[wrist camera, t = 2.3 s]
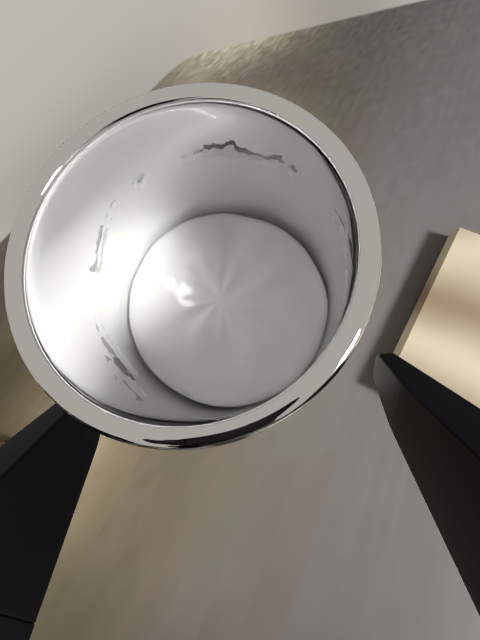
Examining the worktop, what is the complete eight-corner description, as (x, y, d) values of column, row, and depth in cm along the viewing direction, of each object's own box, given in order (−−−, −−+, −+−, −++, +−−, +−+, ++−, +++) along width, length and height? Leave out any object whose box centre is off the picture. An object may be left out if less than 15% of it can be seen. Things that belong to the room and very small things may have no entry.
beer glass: (264, 408, 18) (233, 581, 4) (183, 352, 20) (-82, 307, 5) (318, 323, 19) (484, 168, 4) (236, 274, 20) (140, 22, 5)
